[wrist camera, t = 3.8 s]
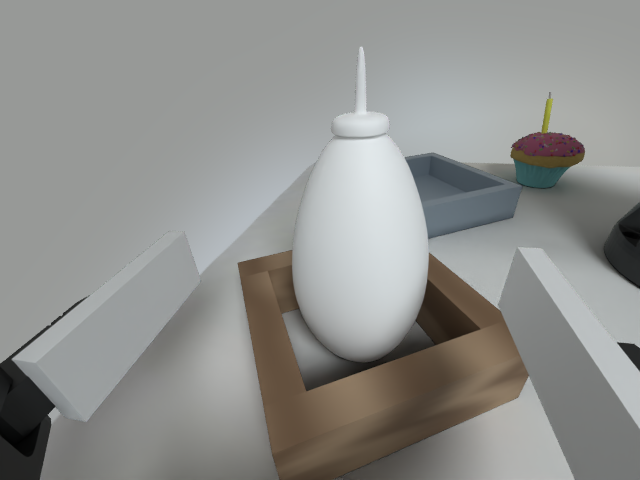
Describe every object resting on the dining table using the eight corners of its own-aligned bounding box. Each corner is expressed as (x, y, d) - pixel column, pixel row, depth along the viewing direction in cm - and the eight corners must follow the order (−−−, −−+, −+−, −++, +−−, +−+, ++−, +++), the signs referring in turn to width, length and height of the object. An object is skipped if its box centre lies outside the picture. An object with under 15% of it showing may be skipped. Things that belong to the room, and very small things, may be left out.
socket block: (393, 266, 29) (396, 225, 27) (518, 397, 18) (543, 345, 15) (248, 305, 26) (237, 262, 23) (285, 500, 14) (272, 454, 12)
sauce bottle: (429, 329, 22) (484, 37, 13) (386, 420, 17) (426, 35, 8) (339, 293, 26) (331, 50, 17) (281, 358, 21) (222, 54, 12)
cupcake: (490, 178, 47) (511, 93, 41) (531, 169, 49) (557, 88, 43) (541, 197, 40) (576, 99, 34) (586, 186, 42) (627, 92, 36)
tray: (429, 177, 49) (433, 152, 47) (512, 217, 36) (522, 185, 34) (339, 194, 45) (338, 168, 43) (395, 246, 32) (397, 213, 30)
